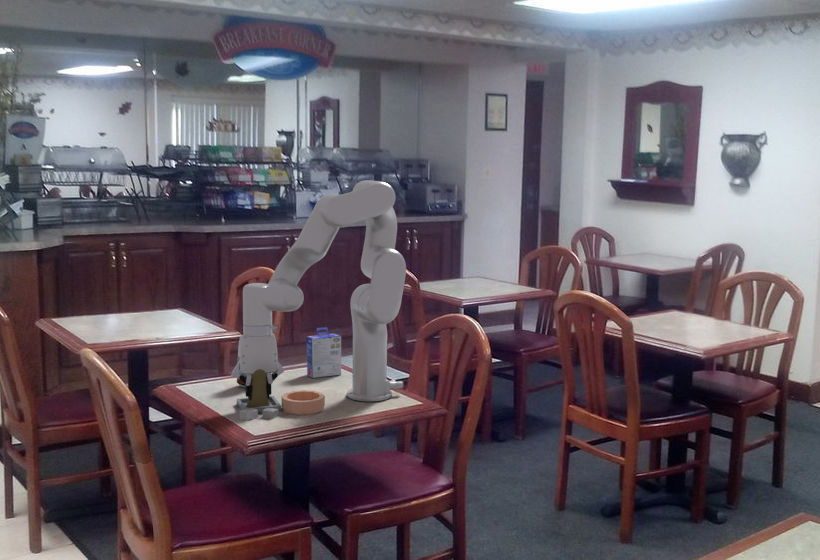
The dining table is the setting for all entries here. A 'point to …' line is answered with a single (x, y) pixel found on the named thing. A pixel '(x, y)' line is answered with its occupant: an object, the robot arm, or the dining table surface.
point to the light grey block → (249, 414)
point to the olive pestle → (258, 390)
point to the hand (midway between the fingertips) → (258, 397)
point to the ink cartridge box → (323, 354)
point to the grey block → (270, 413)
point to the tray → (273, 404)
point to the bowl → (303, 402)
